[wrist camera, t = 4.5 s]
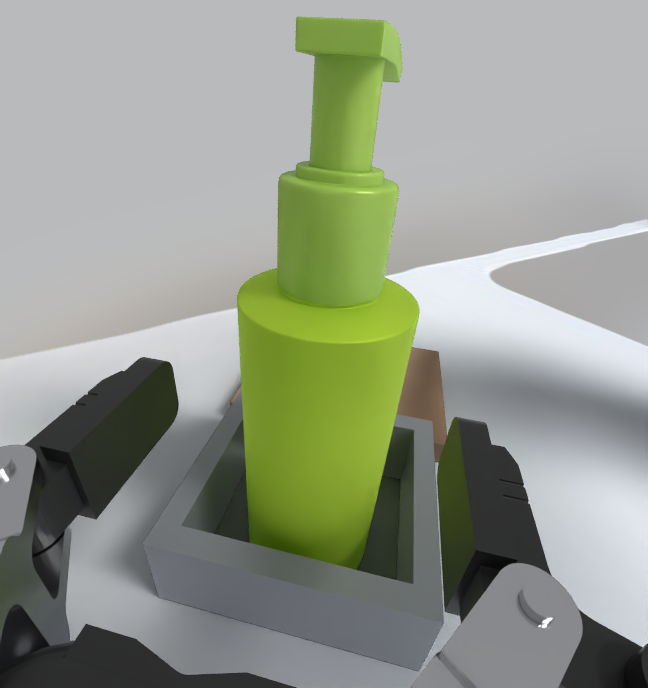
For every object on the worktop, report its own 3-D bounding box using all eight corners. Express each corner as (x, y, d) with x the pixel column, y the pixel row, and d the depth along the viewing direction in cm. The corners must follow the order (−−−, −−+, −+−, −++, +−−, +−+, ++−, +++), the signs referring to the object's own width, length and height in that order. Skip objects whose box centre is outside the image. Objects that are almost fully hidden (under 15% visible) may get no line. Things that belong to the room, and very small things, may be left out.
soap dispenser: (376, 483, 22) (471, 54, 12) (354, 612, 16) (505, -13, 6) (280, 459, 23) (288, 43, 13) (228, 571, 17) (163, -22, 7)
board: (434, 366, 33) (438, 351, 32) (442, 462, 24) (447, 445, 23) (280, 339, 35) (280, 325, 34) (231, 418, 26) (230, 401, 25)
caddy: (417, 469, 23) (432, 421, 21) (418, 671, 15) (443, 623, 13) (246, 433, 25) (244, 384, 22) (158, 597, 16) (142, 543, 14)
